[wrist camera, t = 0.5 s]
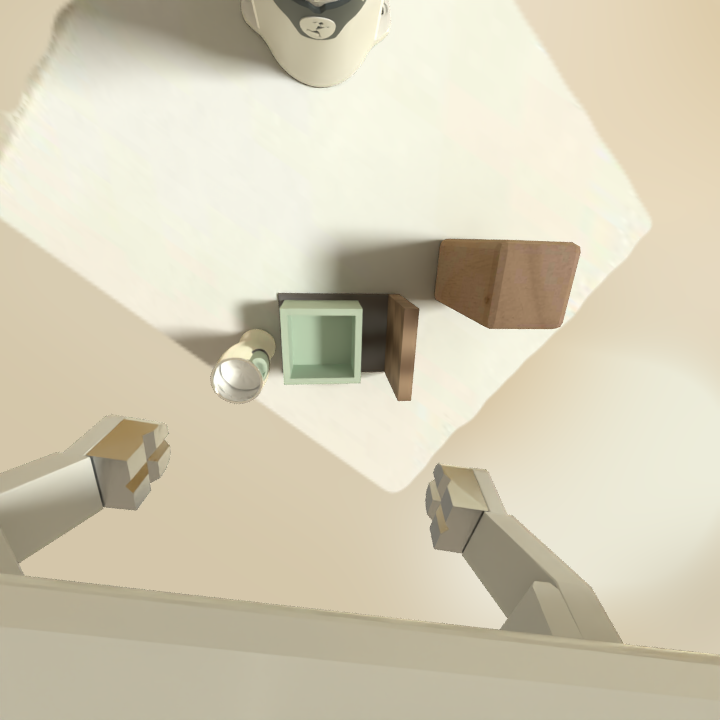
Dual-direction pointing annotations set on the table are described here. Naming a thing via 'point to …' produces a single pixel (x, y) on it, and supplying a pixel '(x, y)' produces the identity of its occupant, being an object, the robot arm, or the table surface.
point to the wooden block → (507, 281)
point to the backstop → (381, 335)
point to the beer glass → (244, 367)
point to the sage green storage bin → (321, 341)
